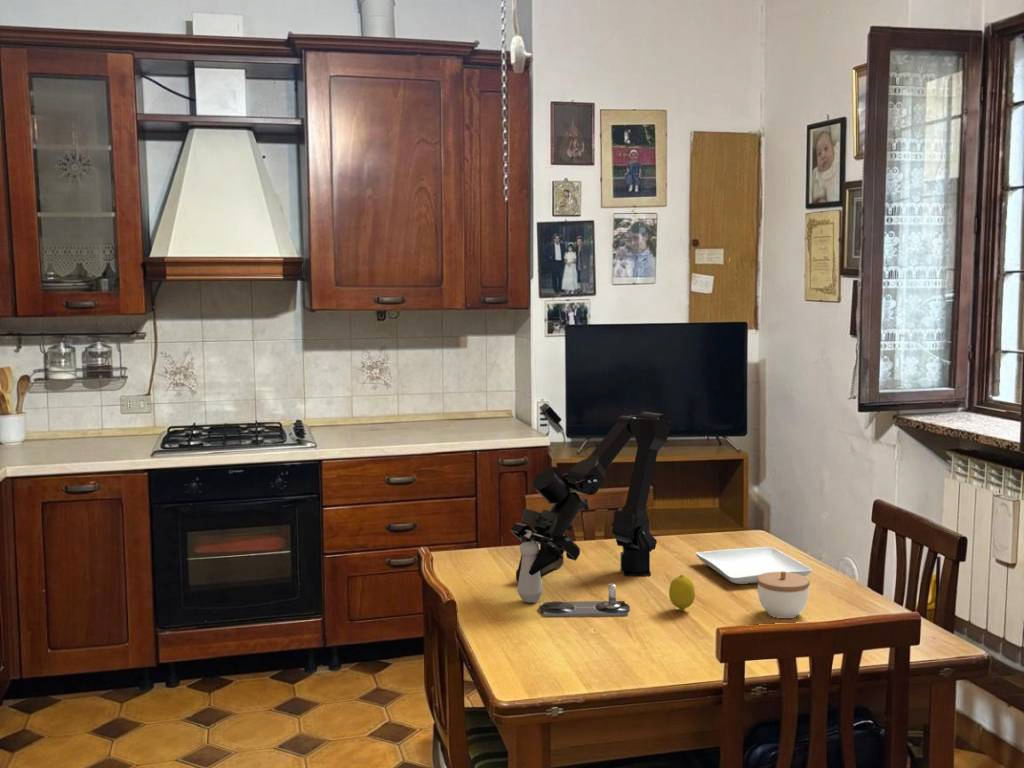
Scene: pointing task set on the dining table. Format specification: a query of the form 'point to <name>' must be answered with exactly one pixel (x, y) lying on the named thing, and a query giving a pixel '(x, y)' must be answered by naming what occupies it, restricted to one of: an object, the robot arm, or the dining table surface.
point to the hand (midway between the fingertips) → (524, 572)
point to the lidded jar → (783, 593)
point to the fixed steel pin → (612, 598)
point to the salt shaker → (529, 584)
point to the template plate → (582, 609)
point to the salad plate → (751, 563)
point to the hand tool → (552, 566)
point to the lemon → (682, 592)
